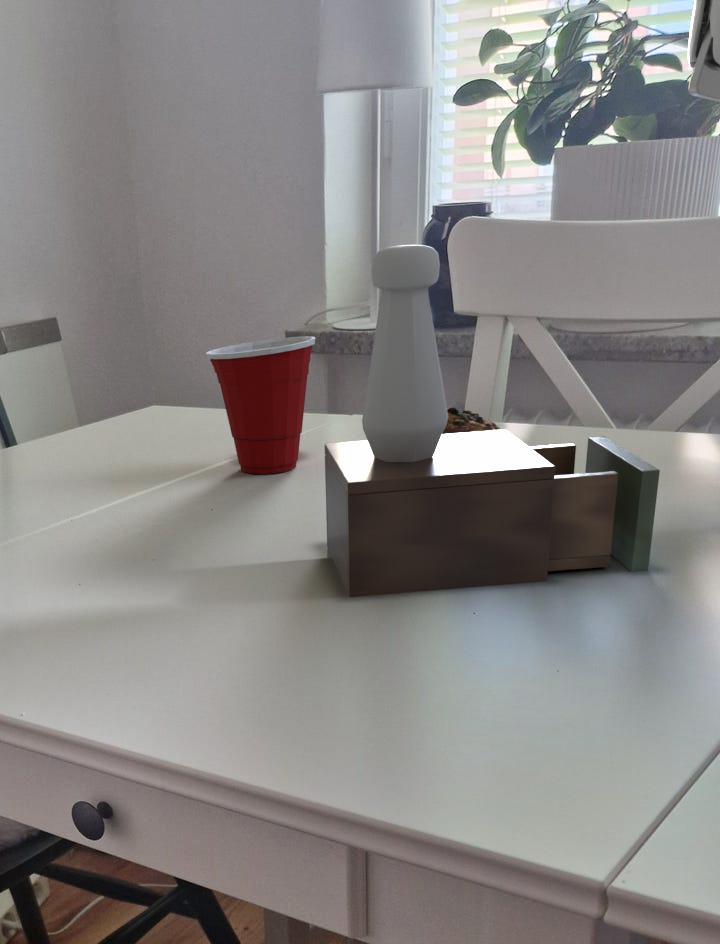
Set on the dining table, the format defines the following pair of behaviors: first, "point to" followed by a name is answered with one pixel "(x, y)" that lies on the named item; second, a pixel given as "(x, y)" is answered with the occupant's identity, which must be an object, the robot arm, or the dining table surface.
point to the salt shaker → (404, 359)
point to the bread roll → (467, 422)
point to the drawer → (601, 507)
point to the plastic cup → (265, 399)
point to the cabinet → (439, 515)
